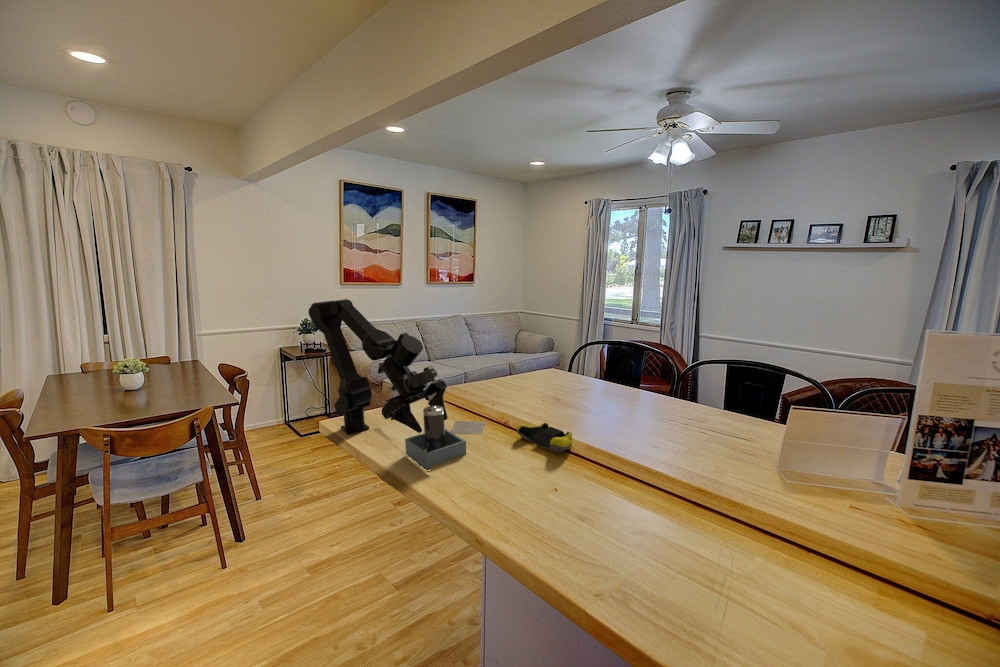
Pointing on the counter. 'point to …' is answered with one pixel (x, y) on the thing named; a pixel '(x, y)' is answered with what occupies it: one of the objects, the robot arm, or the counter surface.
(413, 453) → the bin
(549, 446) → the black and yellow shoe
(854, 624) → the counter surface
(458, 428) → the plate
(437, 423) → the battery
